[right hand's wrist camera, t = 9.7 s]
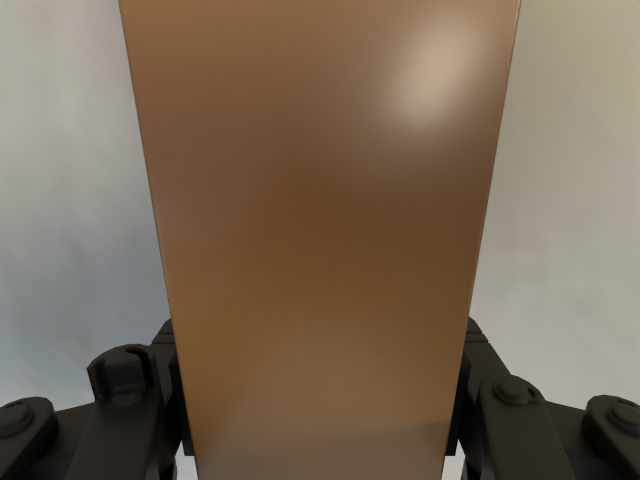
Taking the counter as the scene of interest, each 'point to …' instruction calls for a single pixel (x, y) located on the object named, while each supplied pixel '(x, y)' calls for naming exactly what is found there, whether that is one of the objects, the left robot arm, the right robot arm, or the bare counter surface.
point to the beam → (319, 220)
